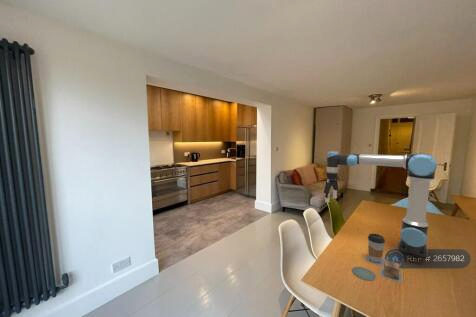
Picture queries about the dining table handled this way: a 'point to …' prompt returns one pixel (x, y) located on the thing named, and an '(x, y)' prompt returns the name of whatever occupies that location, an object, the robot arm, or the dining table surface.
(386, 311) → the dining table surface
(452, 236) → the dining table surface
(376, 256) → the coffee cup
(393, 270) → the brown cube
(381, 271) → the code tile
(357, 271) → the coaster
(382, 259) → the tile
